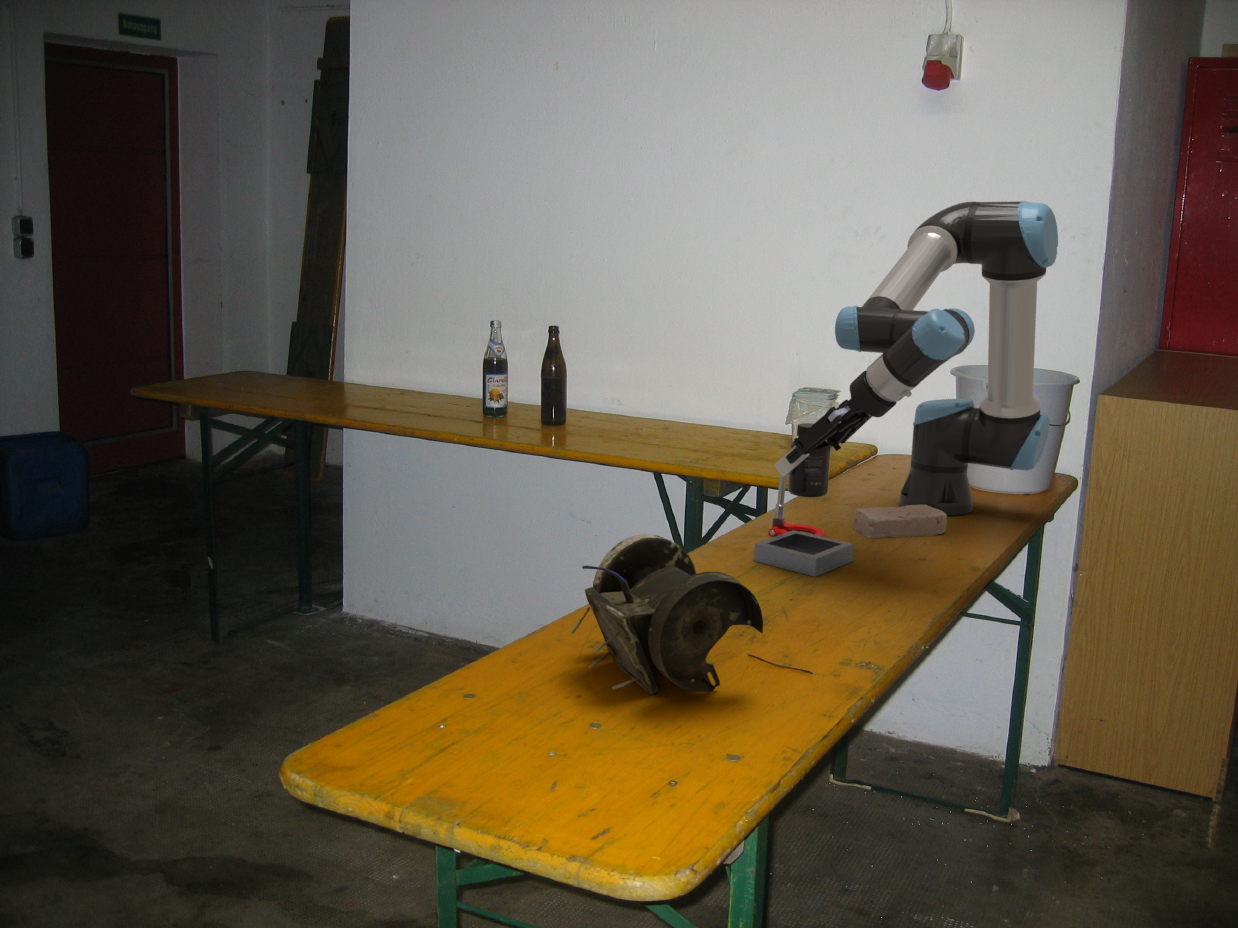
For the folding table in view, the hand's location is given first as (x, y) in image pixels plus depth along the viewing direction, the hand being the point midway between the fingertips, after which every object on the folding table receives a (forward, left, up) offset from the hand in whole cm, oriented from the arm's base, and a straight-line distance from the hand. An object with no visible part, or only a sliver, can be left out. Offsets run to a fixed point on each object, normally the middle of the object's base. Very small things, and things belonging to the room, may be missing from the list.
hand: (791, 467), depth 191 cm
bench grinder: (+57, +16, -17) cm, 61 cm away
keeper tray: (0, +3, -16) cm, 17 cm away
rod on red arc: (-14, -6, -17) cm, 23 cm away
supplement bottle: (0, +4, -4) cm, 6 cm away
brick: (-31, +6, -17) cm, 36 cm away
